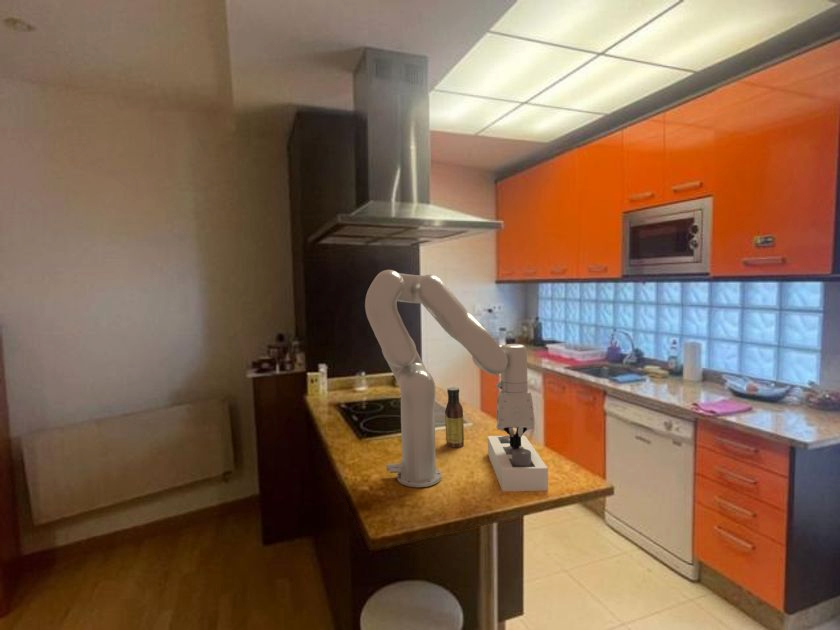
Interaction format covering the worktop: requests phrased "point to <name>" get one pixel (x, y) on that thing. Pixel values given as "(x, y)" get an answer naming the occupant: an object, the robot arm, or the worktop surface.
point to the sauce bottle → (454, 419)
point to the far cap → (505, 439)
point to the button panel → (517, 476)
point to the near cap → (521, 458)
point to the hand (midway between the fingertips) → (515, 448)
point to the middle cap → (510, 450)
